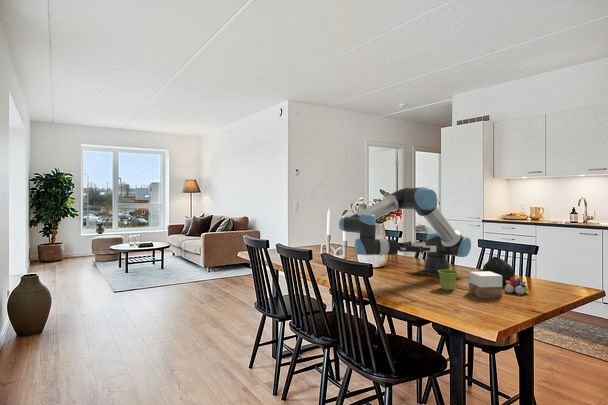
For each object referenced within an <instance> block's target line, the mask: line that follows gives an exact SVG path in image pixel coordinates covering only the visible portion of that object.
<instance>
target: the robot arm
mask: <svg viewBox="0 0 608 405" xmlns="http://www.w3.org/2000/svg"><path fill="white" fill-rule="evenodd" d="M399 210H413V211H415V212H416V213H417V215H418V216H420V217H424V219H425V220H426V221H427V223H428V224H429V225H430V227H431V228H432V229H433V230H434V232H432V233H427V235H426V245H425V242H412V241H411V240H410V241H406V242H405V241H404V242H397V240H396V239H394V238H390V239H389V238H388V239H385V238H377V239H376V227H377V226H376V224H377V222H376V220H377V219H379V218H381V217H383V216H385V215H387V214H389V213H391V212H397V211H399ZM338 227H339V229H340V230H341V231H343V232H346V233H356V234H359V237H358V238H357V239H355V241H354V252H355V254H356V255H358V256H359V255H360V256H380V257H382V256H387V255H388V256H395V255H397V253H398V252H401V253H402V252H405V253H406V252H407V253H408V252H410V253H421V254H424V253H426V257H425V261H424V263H423V264H424V265H423V271H425V272H428V273H437V274H439V272H438V270H451V267H450V264H449V261H448V257H447V256H451V257H452V256H453V257H458V258H466V257H467V256H468V255H469V254H470V252H471V248H472V242H471V241H472V240H471V239H470V238H469V237H467V236H463V235H462V234H461V232H459V231H458V230H457V229H454V227H453V226H452V225H451V224H450V223H449V222H448V220H447V219H446V218H445V216H444V215H443V213H442V212H441V211H440V209H439V208H438V195H437V193H436V191H435V190H433V189H432V188H430V187H425V186H423V187H404V188H400V189H398V190H395V191H394V192H392V193H390V194H387V195H386V196H385V198H384V199H382V200H379V201H378V202H376V203H374V204H372V205H370V206H368V207H366V208H365V209H362V210H360V211H358V212H357V213H355V214H354V213H353V214H352V215H349V216H343V217H341V218H340V219H339V222H338ZM397 251H398V252H397Z"/></svg>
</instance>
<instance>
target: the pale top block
mask: <svg viewBox="0 0 608 405" xmlns="http://www.w3.org/2000/svg"><path fill="white" fill-rule="evenodd" d="M468 273H469V274H468V276H469V277H468V278H469V282H470V283H472V284H474V285H477V286H479V287H502V288H503V285H502V275H499V274H496V273H493V272H490V271H483V272H482V271H469V272H468ZM469 282H468V283H469Z"/></svg>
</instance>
